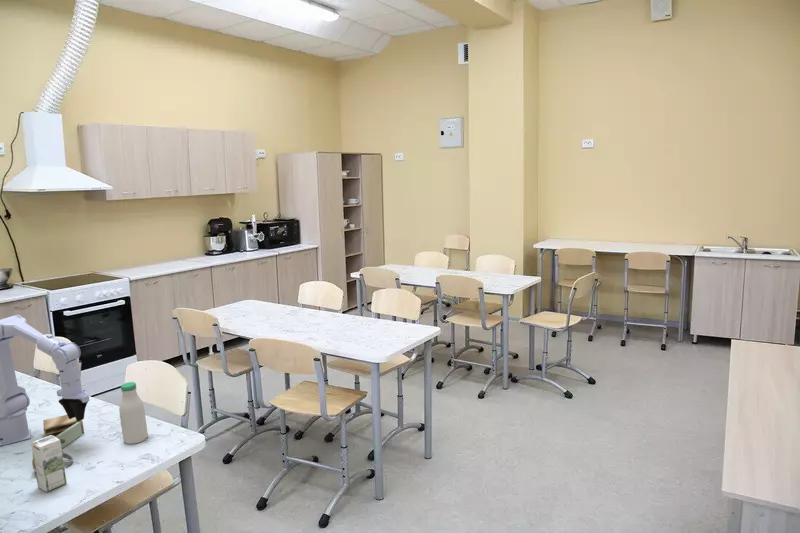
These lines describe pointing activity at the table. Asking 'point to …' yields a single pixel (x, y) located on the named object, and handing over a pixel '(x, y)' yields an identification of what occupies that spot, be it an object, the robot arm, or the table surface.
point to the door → (70, 434)
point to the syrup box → (48, 463)
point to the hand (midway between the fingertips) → (76, 418)
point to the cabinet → (59, 425)
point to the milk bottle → (132, 415)
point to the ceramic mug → (63, 457)
